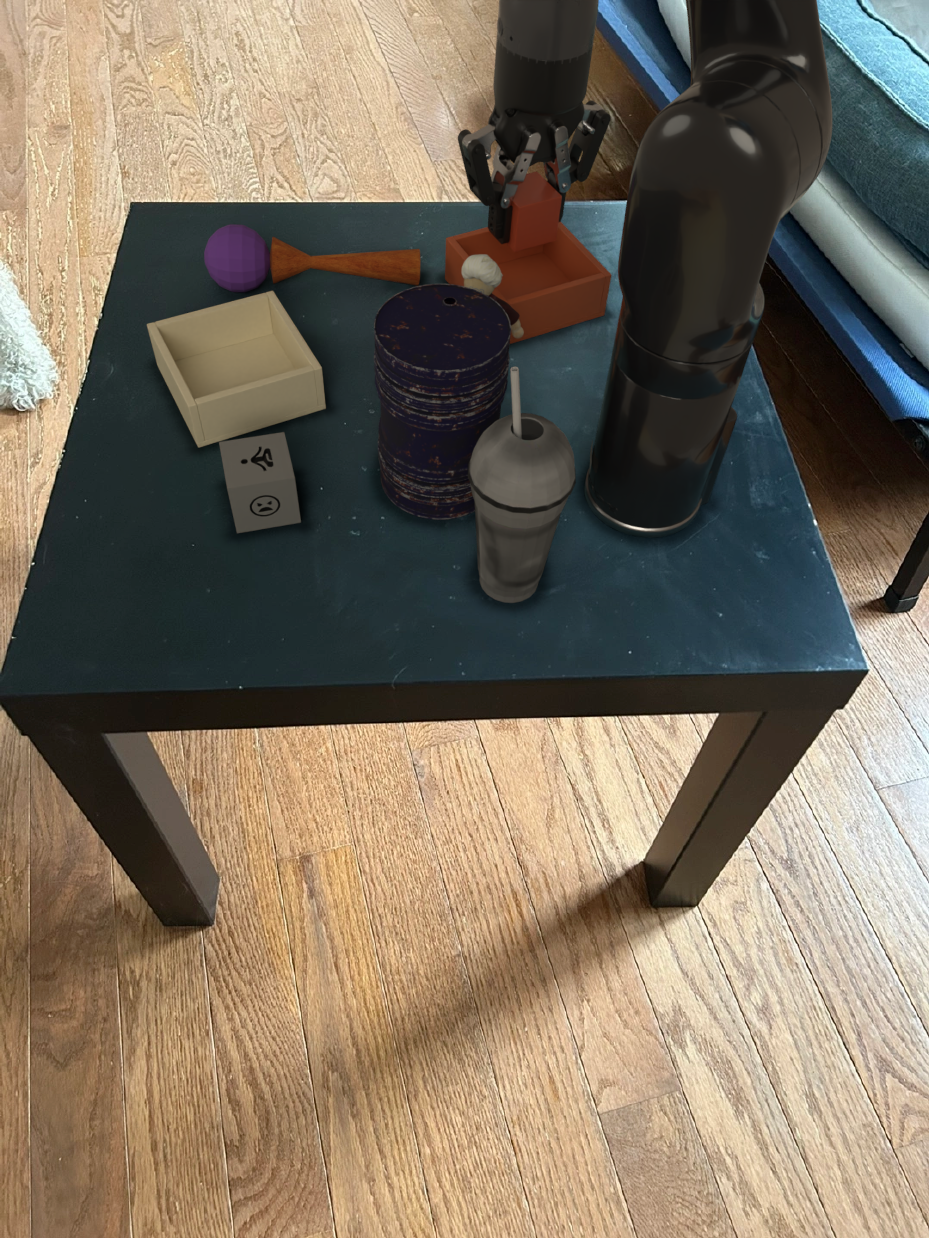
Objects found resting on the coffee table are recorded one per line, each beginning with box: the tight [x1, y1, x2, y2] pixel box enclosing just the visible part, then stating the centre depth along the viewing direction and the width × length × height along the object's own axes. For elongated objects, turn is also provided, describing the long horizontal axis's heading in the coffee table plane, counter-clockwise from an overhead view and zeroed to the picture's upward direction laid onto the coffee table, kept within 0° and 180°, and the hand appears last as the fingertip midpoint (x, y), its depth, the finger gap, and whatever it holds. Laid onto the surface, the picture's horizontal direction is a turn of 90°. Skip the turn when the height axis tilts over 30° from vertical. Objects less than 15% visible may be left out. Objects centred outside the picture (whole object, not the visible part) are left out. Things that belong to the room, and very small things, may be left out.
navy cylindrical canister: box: [373, 283, 511, 521], centre depth 76 cm, size 10×10×15 cm
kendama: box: [203, 223, 421, 294], centre depth 94 cm, size 6×6×20 cm
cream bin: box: [146, 290, 327, 448], centre depth 86 cm, size 11×11×4 cm
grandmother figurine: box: [462, 254, 524, 339], centre depth 84 cm, size 8×4×13 cm, turn 91°
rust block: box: [507, 171, 562, 252], centre depth 89 cm, size 4×4×4 cm
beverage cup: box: [468, 366, 577, 604], centre depth 68 cm, size 7×7×20 cm
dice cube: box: [218, 431, 302, 534], centre depth 77 cm, size 5×5×5 cm
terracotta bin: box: [444, 221, 613, 345], centre depth 95 cm, size 11×11×4 cm
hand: (524, 231), depth 91 cm, fingers closed on rust block, 4 cm apart
